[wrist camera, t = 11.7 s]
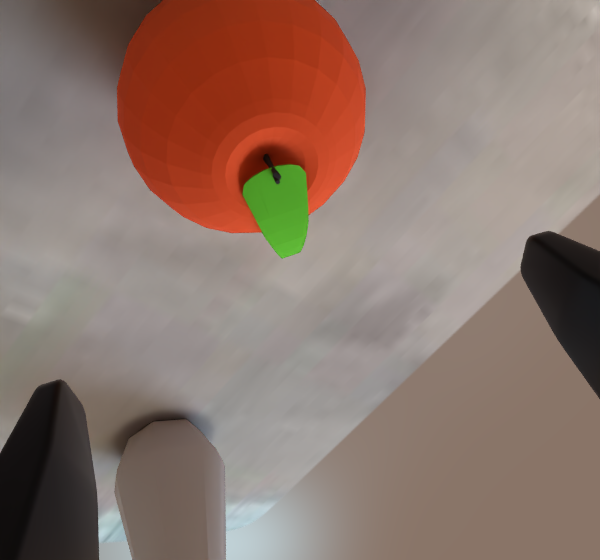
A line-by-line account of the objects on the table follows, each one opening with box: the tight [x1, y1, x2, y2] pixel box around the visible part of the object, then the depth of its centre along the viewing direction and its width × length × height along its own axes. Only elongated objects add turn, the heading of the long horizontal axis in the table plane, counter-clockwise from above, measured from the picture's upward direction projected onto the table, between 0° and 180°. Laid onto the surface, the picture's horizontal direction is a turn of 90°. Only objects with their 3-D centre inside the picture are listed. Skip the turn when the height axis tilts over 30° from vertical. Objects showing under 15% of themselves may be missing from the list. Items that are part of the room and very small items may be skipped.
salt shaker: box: [114, 419, 226, 560], centre depth 27 cm, size 6×6×13 cm
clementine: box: [117, 0, 366, 258], centre depth 16 cm, size 8×7×7 cm
